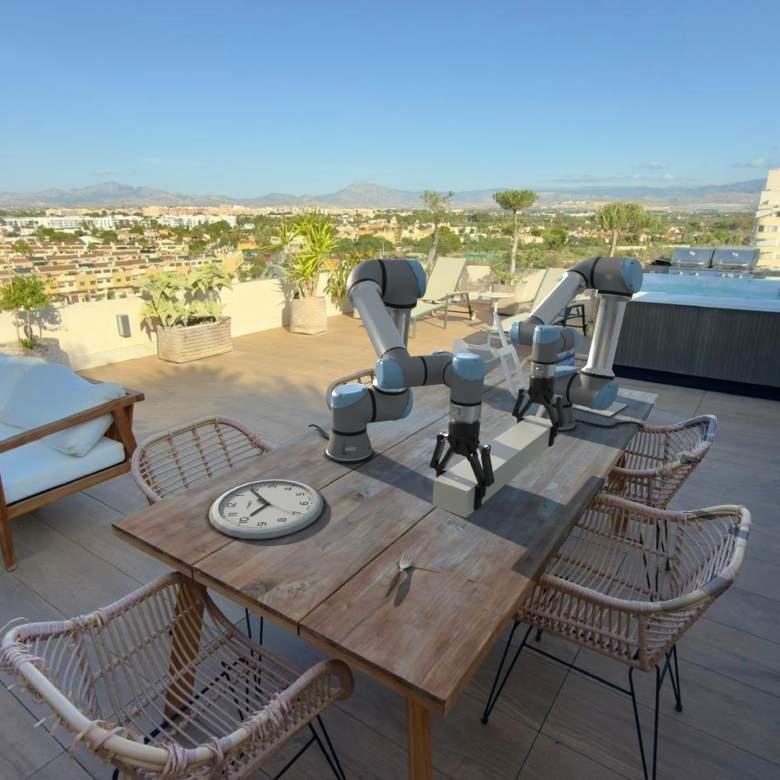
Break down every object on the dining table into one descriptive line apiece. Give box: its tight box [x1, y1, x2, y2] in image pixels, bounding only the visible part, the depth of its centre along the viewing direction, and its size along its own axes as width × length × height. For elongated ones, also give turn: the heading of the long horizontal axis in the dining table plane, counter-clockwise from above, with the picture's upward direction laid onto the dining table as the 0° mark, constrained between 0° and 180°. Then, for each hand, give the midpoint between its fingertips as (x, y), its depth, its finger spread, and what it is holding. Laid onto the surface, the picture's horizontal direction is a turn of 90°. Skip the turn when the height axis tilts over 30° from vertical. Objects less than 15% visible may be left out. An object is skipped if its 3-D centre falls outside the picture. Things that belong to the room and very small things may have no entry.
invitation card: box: [573, 401, 629, 418], centre depth 226 cm, size 21×1×15 cm
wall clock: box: [208, 478, 324, 540], centre depth 141 cm, size 30×2×30 cm
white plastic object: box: [450, 310, 529, 400], centre depth 245 cm, size 37×45×31 cm
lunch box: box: [556, 347, 576, 367], centre depth 248 cm, size 26×11×21 cm, turn 134°
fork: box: [385, 547, 415, 599], centre depth 114 cm, size 3×16×2 cm, turn 160°
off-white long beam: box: [432, 414, 557, 519], centre depth 150 cm, size 60×10×7 cm, turn 143°
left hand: (459, 501), depth 132 cm, fingers closed on off-white long beam, 10 cm apart
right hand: (535, 441), depth 170 cm, fingers closed on off-white long beam, 9 cm apart
